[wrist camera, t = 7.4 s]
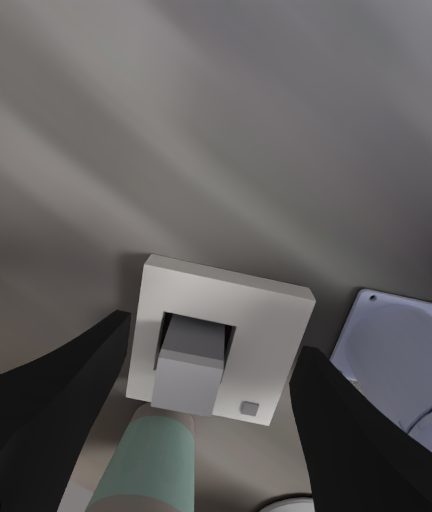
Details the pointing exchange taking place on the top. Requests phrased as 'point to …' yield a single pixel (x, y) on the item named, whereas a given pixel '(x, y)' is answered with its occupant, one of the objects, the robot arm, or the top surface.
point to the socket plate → (241, 337)
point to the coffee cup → (150, 465)
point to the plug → (190, 366)
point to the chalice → (291, 505)
